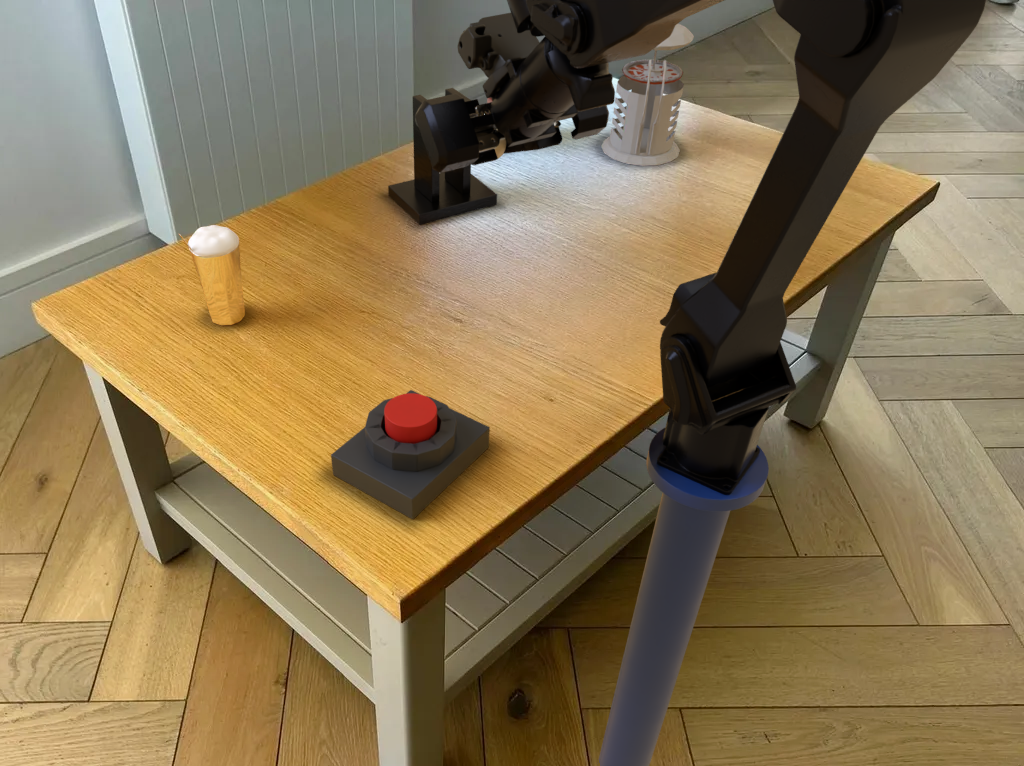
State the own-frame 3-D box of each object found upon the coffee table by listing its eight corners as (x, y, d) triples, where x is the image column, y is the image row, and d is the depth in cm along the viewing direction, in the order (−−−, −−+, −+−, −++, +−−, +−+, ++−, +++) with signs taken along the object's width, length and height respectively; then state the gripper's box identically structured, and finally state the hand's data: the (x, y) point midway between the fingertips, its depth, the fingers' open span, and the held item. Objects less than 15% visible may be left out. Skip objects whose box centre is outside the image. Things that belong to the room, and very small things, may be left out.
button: (447, 423, 69) (447, 406, 68) (415, 451, 67) (415, 434, 66) (406, 403, 71) (406, 386, 70) (374, 430, 69) (373, 413, 68)
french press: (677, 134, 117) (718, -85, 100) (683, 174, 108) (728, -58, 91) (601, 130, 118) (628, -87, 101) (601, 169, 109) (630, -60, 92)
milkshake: (188, 318, 87) (166, 224, 80) (235, 298, 89) (219, 205, 82) (211, 338, 84) (191, 243, 77) (260, 317, 87) (245, 223, 80)
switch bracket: (497, 204, 103) (501, 102, 95) (419, 225, 100) (417, 120, 92) (462, 177, 108) (464, 77, 100) (388, 195, 105) (384, 94, 97)
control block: (489, 447, 73) (490, 409, 70) (413, 520, 67) (411, 481, 64) (411, 409, 76) (410, 372, 74) (332, 475, 70) (328, 437, 68)
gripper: (608, -24, 81) (532, 62, 95) (423, 9, 74) (373, 95, 89) (648, 95, 81) (566, 162, 96) (467, 137, 75) (409, 201, 89)
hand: (481, 152), depth 92 cm, fingers closed on lever, 3 cm apart
